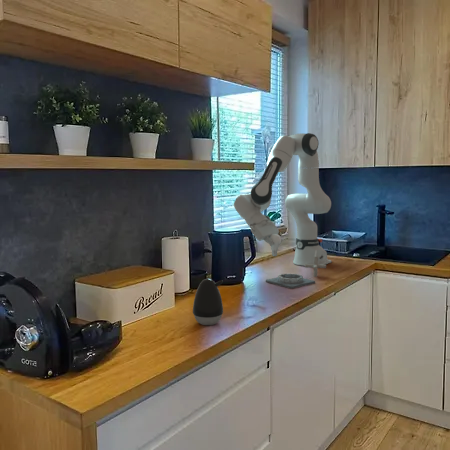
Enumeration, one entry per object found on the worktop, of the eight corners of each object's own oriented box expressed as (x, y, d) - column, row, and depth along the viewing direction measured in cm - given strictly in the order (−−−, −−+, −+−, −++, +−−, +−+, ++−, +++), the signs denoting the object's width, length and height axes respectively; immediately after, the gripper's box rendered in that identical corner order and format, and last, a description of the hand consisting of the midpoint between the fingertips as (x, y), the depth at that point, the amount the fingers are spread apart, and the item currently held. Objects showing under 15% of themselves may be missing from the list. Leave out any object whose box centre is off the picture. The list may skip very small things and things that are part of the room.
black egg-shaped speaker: (227, 326, 149) (227, 281, 148) (196, 329, 146) (196, 283, 145) (219, 316, 159) (218, 274, 157) (190, 319, 156) (189, 276, 154)
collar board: (289, 276, 219) (289, 270, 219) (315, 283, 207) (315, 276, 207) (265, 281, 209) (265, 275, 209) (291, 288, 197) (291, 282, 197)
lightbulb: (277, 257, 214) (278, 234, 213) (265, 256, 217) (266, 233, 216) (283, 256, 219) (283, 233, 218) (271, 254, 222) (272, 232, 221)
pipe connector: (326, 279, 215) (326, 258, 214) (304, 278, 217) (305, 257, 216) (325, 274, 225) (326, 254, 224) (305, 273, 227) (305, 253, 226)
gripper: (252, 220, 211) (271, 242, 207) (270, 216, 228) (288, 236, 225) (244, 229, 213) (262, 251, 210) (262, 224, 231) (279, 245, 227)
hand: (276, 243), depth 217 cm, fingers closed on lightbulb, 6 cm apart
